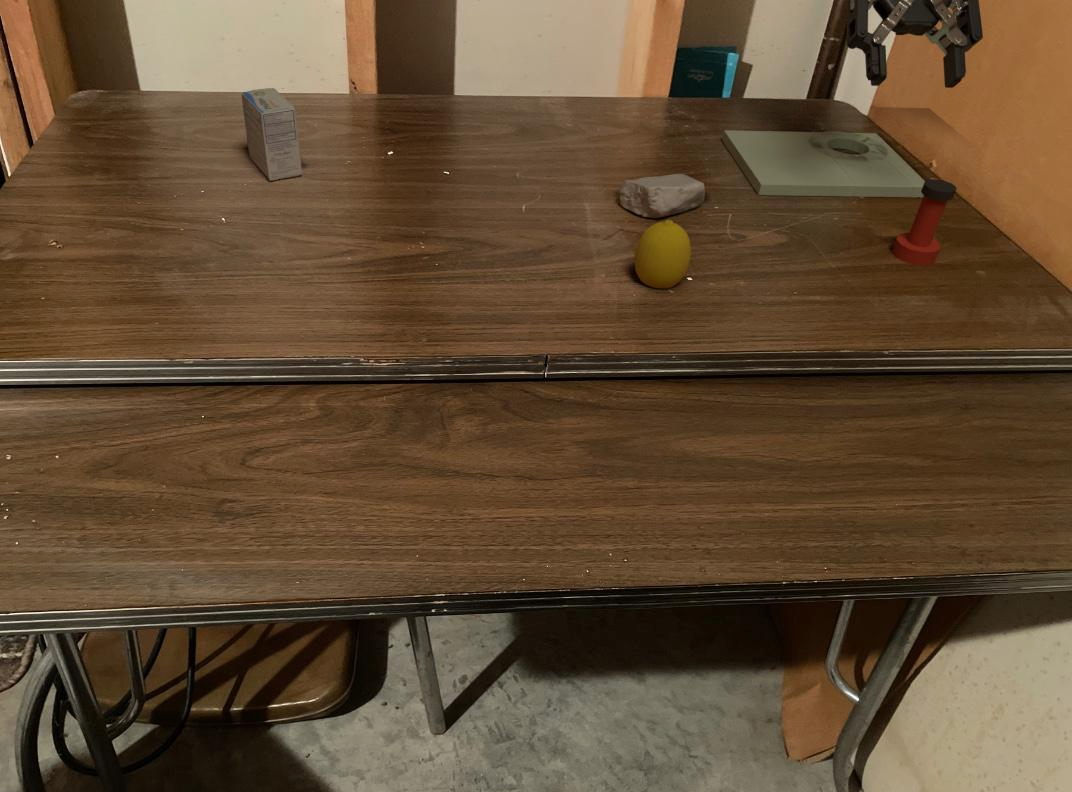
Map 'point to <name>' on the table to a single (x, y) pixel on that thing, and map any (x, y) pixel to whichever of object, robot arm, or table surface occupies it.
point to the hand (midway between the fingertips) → (916, 83)
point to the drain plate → (821, 164)
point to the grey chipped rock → (662, 195)
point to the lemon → (662, 255)
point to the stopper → (925, 225)
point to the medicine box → (272, 133)
